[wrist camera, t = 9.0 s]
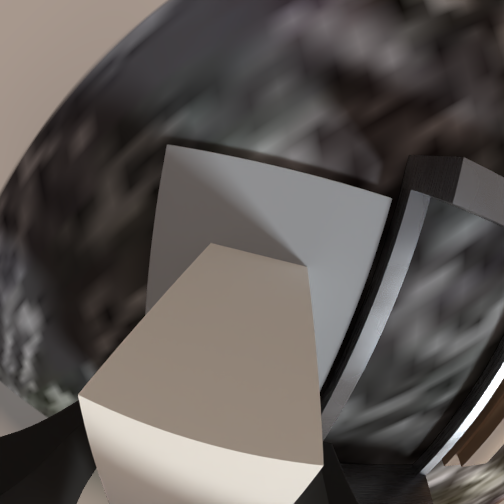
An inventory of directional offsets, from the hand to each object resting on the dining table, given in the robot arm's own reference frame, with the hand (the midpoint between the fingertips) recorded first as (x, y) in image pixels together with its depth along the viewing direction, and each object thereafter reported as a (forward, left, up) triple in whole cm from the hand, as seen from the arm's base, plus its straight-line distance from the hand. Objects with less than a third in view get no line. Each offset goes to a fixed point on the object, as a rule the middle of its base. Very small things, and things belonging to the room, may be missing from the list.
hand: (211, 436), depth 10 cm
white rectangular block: (0, 0, -3) cm, 3 cm away
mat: (0, 0, -4) cm, 4 cm away
